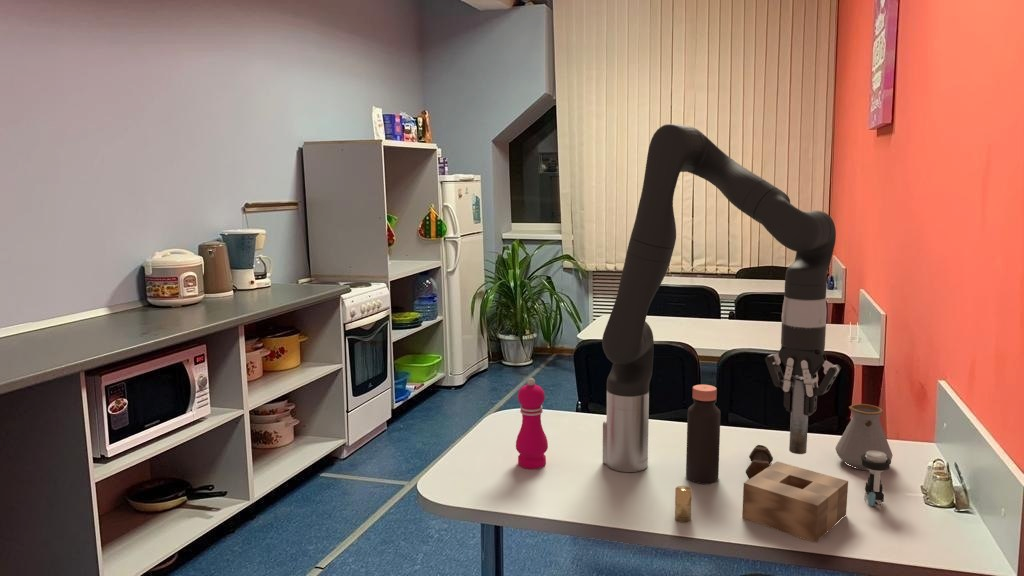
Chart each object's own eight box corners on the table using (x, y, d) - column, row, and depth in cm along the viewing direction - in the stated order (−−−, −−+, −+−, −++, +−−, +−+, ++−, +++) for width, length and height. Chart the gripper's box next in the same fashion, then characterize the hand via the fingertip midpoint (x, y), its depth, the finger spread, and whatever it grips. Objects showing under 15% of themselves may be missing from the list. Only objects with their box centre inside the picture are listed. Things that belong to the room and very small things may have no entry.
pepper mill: (531, 473, 164) (530, 384, 161) (509, 463, 170) (508, 378, 166) (554, 464, 169) (554, 378, 166) (532, 455, 174) (532, 371, 171)
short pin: (671, 519, 142) (672, 489, 141) (680, 513, 145) (681, 484, 144) (685, 524, 140) (686, 494, 139) (694, 518, 142) (694, 488, 141)
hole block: (742, 517, 143) (743, 482, 141) (775, 494, 152) (777, 461, 151) (815, 542, 133) (817, 505, 132) (846, 515, 143) (848, 481, 142)
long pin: (786, 451, 141) (789, 379, 138) (793, 446, 143) (796, 375, 140) (802, 455, 138) (805, 382, 136) (809, 450, 141) (812, 378, 138)
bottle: (724, 477, 161) (727, 387, 158) (708, 487, 156) (711, 394, 153) (695, 468, 165) (698, 381, 162) (679, 478, 160) (682, 388, 157)
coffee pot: (835, 451, 174) (838, 388, 172) (890, 458, 170) (895, 394, 167) (833, 487, 155) (837, 418, 153) (895, 496, 151) (901, 425, 148)
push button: (894, 512, 144) (897, 462, 142) (864, 510, 145) (867, 461, 143) (883, 496, 151) (886, 449, 149) (854, 495, 151) (858, 448, 150)
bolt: (764, 467, 171) (763, 492, 157) (744, 454, 172) (741, 478, 158) (778, 447, 169) (778, 470, 155) (758, 434, 170) (757, 456, 156)
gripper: (851, 323, 134) (845, 415, 137) (776, 313, 144) (772, 400, 147) (834, 330, 129) (829, 426, 132) (757, 319, 139) (754, 409, 142)
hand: (799, 412), depth 139 cm, fingers closed on long pin, 3 cm apart
